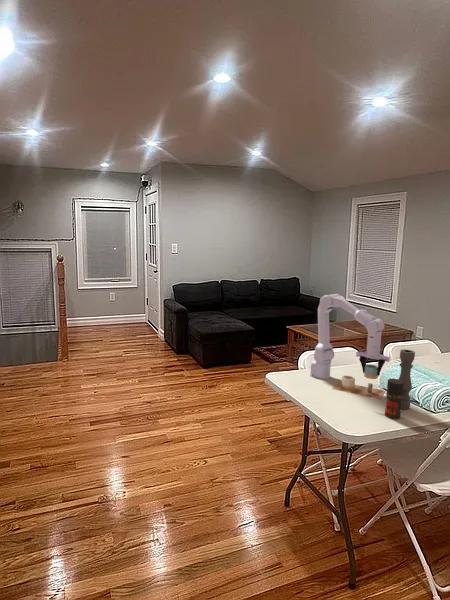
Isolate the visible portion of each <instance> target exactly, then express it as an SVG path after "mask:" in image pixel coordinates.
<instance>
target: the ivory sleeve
mask: <svg viewBox="0 0 450 600" xmlns="http://www.w3.org/2000/svg"><path fill="white" fill-rule="evenodd" d="M341 382H342V386H341V387H342V388H343V389H347V390H353V389H354V388H355V385H356V377H355V376H352V375H342V377H341Z"/></svg>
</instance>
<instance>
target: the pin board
mask: <svg viewBox="0 0 450 600" xmlns="http://www.w3.org/2000/svg"><path fill="white" fill-rule="evenodd" d="M341 386H342V381H338V382H336V384H334V386H333V387H332V388H331V390H334V391H335V390H336V391H340V392H345V393H350V394H353V395H359V396H362V397H367V398H370V399H371V398H372V399H376V400H382V398H383V397H384V394H385V393H386V390H383V389H377V388H373V383H367V386H363V385H359V384H355V388H354V389H353V390H347V389H343V388H342V387H341Z"/></svg>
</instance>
